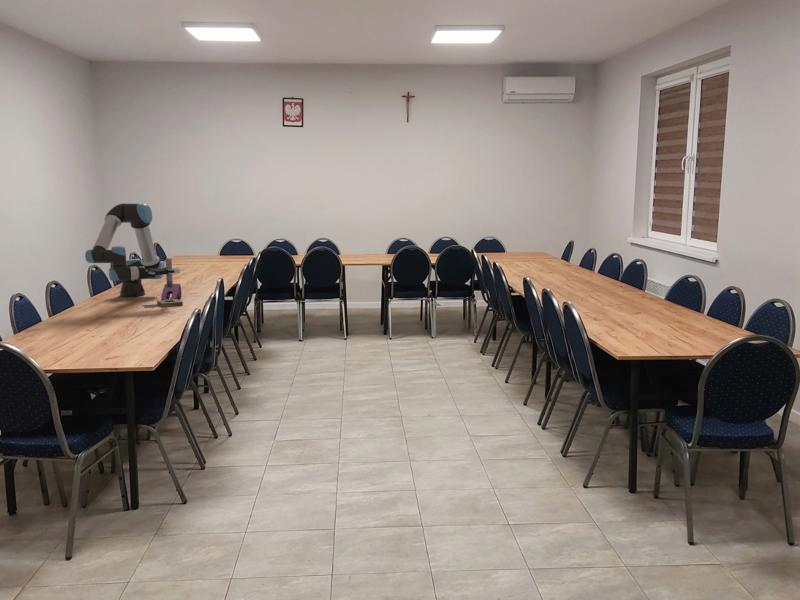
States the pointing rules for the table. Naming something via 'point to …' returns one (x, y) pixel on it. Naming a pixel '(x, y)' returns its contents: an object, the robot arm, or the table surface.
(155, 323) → the table surface
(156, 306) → the mat
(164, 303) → the collar
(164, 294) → the mounting bracket
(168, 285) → the peg
